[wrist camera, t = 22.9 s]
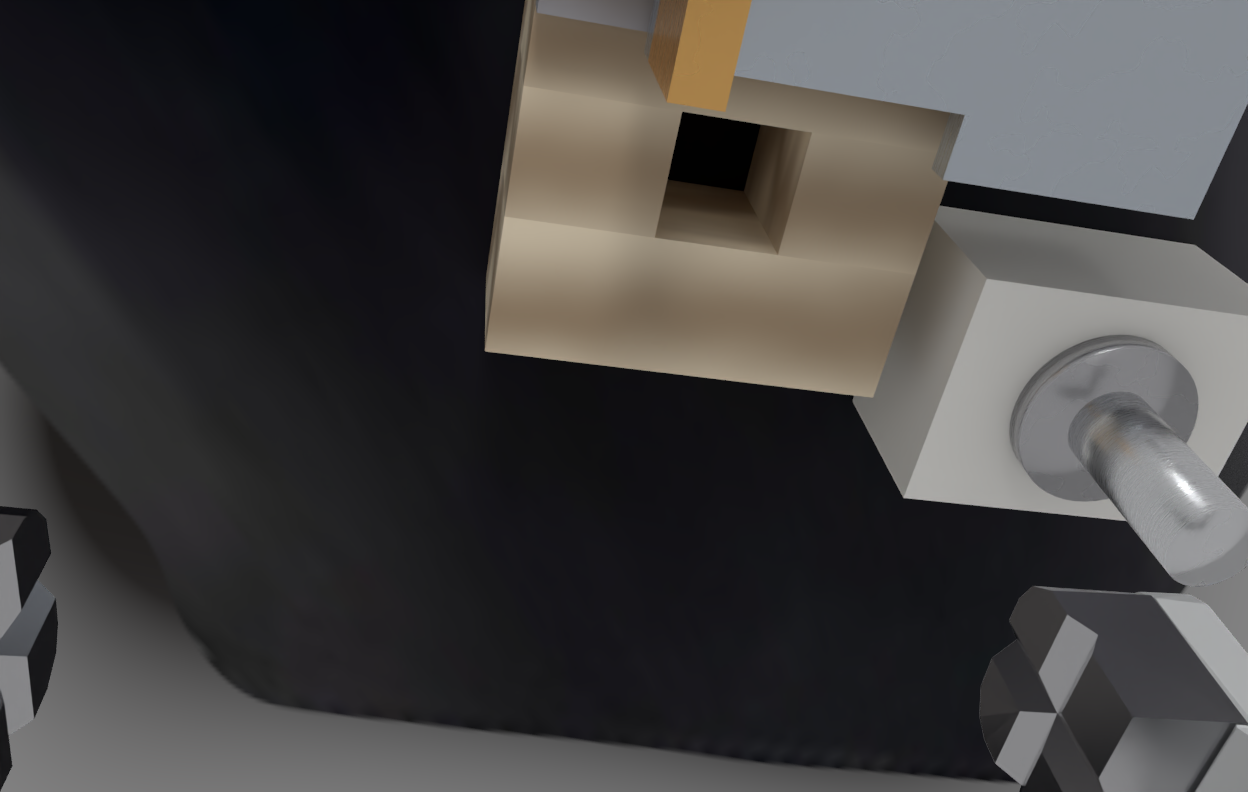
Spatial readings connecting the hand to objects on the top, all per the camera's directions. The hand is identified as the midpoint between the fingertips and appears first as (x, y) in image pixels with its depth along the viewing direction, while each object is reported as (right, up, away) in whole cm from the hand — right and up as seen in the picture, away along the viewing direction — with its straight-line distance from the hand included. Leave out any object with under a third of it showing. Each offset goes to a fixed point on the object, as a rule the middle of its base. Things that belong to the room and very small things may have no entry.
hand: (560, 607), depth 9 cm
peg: (+17, +4, +37) cm, 41 cm away
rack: (+17, +5, +37) cm, 41 cm away
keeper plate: (+10, +12, +23) cm, 28 cm away
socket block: (+3, +12, +32) cm, 34 cm away
